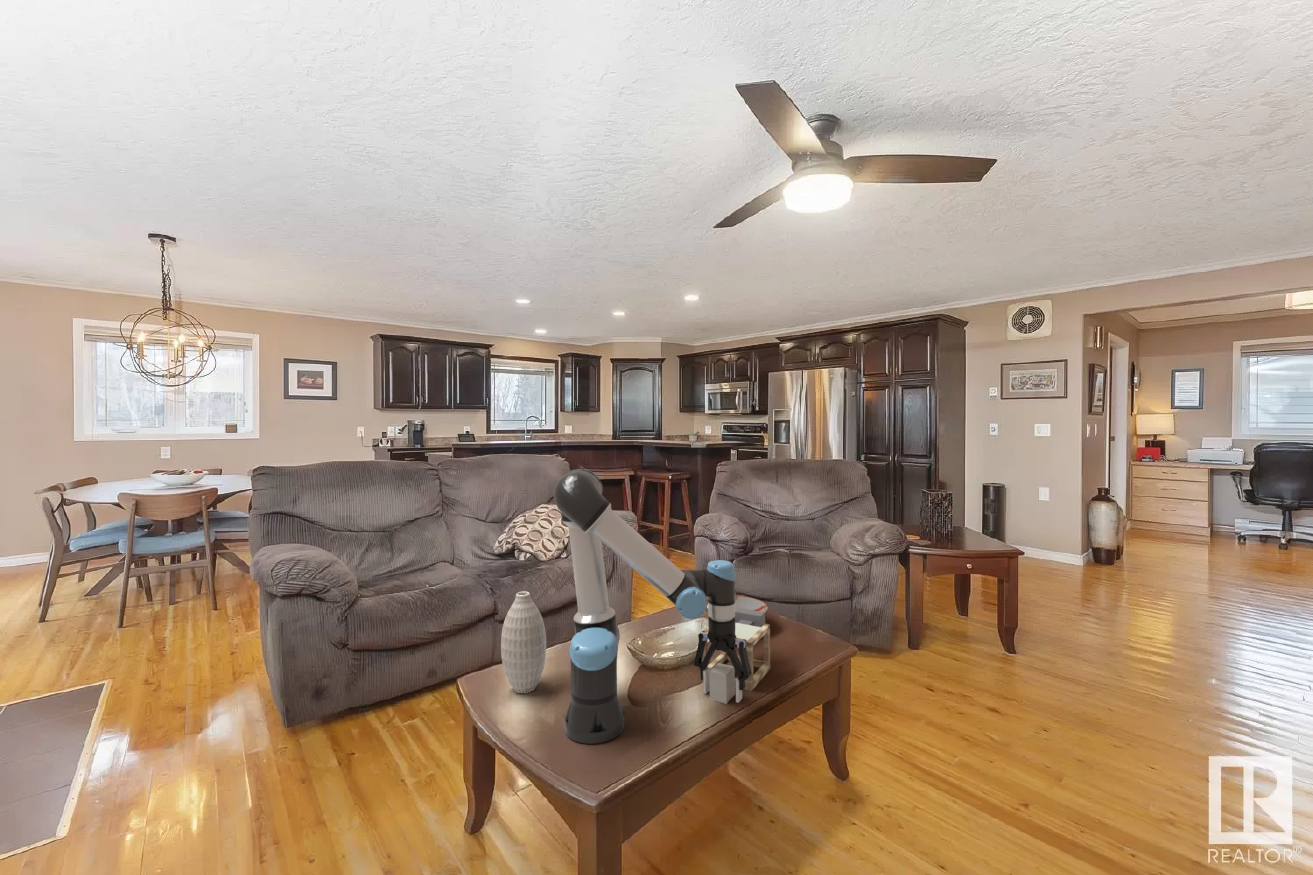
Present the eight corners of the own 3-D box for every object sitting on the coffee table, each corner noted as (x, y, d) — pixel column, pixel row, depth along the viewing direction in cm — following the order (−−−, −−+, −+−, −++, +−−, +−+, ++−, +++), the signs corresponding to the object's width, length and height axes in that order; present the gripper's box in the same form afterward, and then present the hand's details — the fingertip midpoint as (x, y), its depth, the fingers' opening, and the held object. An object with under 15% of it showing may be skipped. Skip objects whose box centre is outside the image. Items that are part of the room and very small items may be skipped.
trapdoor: (747, 650, 160) (747, 633, 160) (709, 642, 166) (709, 626, 166) (769, 628, 177) (769, 613, 177) (734, 621, 183) (734, 607, 183)
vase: (493, 689, 161) (491, 593, 160) (530, 674, 170) (528, 583, 169) (518, 704, 152) (516, 603, 151) (555, 687, 161) (553, 592, 160)
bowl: (698, 638, 196) (698, 616, 196) (704, 613, 221) (703, 593, 221) (770, 642, 192) (770, 619, 192) (767, 616, 217) (767, 596, 217)
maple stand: (751, 691, 158) (751, 642, 157) (701, 678, 166) (700, 632, 166) (770, 668, 172) (769, 624, 171) (722, 658, 180) (722, 615, 179)
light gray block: (726, 703, 151) (726, 675, 151) (709, 699, 154) (709, 671, 153) (734, 694, 156) (734, 666, 156) (718, 690, 159) (718, 662, 159)
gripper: (763, 619, 152) (764, 699, 153) (692, 606, 163) (693, 681, 164) (754, 628, 145) (754, 712, 146) (680, 614, 157) (681, 692, 157)
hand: (722, 695), depth 155 cm, fingers open, 9 cm apart
